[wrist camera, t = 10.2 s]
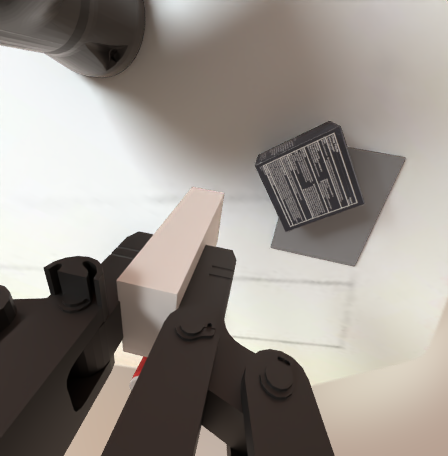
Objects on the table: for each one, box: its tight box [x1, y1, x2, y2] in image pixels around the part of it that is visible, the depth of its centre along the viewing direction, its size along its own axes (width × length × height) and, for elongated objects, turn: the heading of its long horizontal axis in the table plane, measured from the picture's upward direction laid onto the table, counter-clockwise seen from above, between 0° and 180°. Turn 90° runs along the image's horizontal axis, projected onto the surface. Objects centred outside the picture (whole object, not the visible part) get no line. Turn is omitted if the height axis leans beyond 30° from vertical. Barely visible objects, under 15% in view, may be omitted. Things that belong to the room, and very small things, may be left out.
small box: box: [255, 121, 365, 232], centre depth 35 cm, size 11×6×10 cm
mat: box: [271, 147, 406, 266], centre depth 39 cm, size 14×18×1 cm
